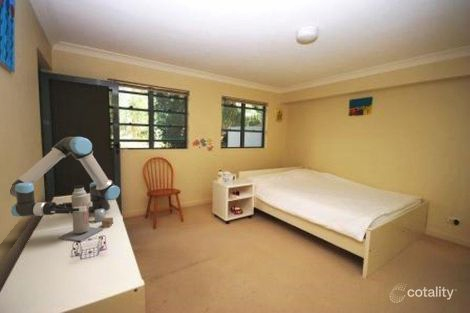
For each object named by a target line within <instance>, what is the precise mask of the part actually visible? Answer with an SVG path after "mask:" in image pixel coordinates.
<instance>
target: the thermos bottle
mask: <svg viewBox="0 0 470 313" xmlns="http://www.w3.org/2000/svg"><path fill="white" fill-rule="evenodd" d="M88 198H89V197H88V194H87V192H86V190H85V185H75V186H73V192H72V195H71V202H72V208H73V207H86V211H82V212H73V213H72V226H73V227H72V228H73V230H72V231H73V232H74V233H83V232H86V231H88V230H89V227H90V219H89V215H90V214H89V211H88V208H89V207H88V202H89V201H88Z"/></svg>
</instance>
